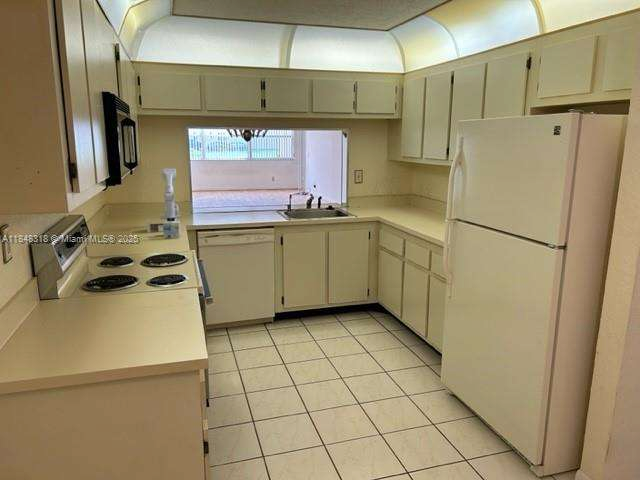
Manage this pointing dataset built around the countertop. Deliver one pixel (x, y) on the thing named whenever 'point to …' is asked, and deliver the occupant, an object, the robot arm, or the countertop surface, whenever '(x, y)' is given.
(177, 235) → the light bulb box
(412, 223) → the countertop surface
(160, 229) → the book
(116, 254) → the countertop surface
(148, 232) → the bookend
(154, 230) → the shelf
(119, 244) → the countertop surface
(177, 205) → the robot arm
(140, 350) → the countertop surface
